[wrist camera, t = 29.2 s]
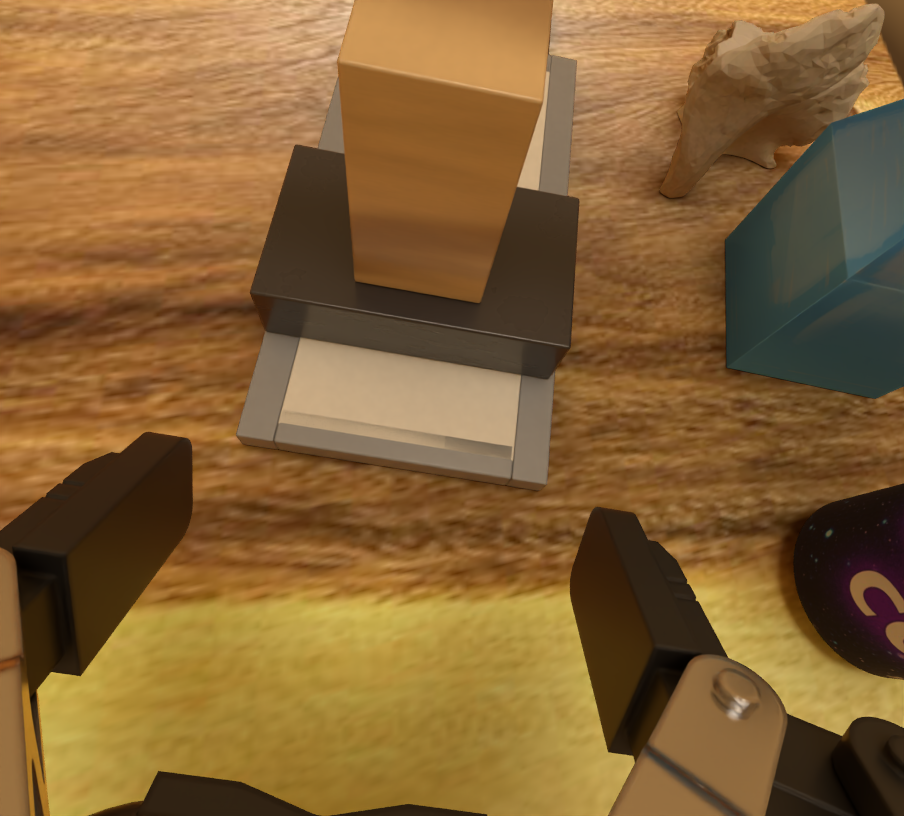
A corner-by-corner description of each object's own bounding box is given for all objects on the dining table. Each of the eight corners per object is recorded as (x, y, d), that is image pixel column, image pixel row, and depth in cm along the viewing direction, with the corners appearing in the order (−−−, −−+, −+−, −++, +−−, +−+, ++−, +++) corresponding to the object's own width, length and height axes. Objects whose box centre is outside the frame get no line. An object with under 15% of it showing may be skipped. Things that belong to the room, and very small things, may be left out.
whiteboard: (539, 491, 20) (547, 484, 19) (242, 444, 19) (235, 435, 18) (570, 79, 27) (577, 59, 26) (356, 35, 26) (355, 13, 25)
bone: (770, 36, 27) (1007, -108, 17) (781, 176, 29) (1006, 114, 19) (605, 67, 26) (762, -70, 16) (626, 211, 27) (781, 164, 18)
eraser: (549, 380, 20) (695, 171, 11) (264, 332, 19) (156, 65, 10) (559, 241, 22) (688, -33, 13) (303, 194, 22) (244, -130, 12)
